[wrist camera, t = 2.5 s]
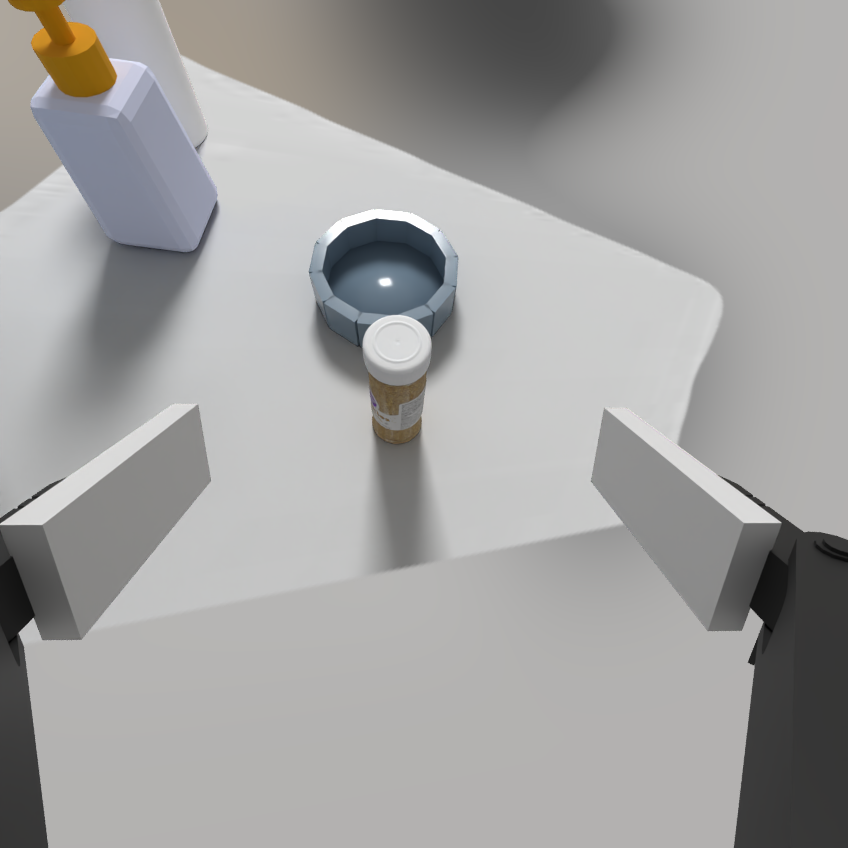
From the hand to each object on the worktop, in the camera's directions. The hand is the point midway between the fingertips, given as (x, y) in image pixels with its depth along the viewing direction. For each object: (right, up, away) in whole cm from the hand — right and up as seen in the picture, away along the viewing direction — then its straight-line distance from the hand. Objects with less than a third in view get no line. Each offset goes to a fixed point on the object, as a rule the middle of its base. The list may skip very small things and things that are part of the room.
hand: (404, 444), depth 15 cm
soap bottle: (-25, +23, +35) cm, 48 cm away
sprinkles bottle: (-2, +1, +27) cm, 27 cm away
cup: (-30, +36, +40) cm, 62 cm away
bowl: (-3, +14, +32) cm, 36 cm away
